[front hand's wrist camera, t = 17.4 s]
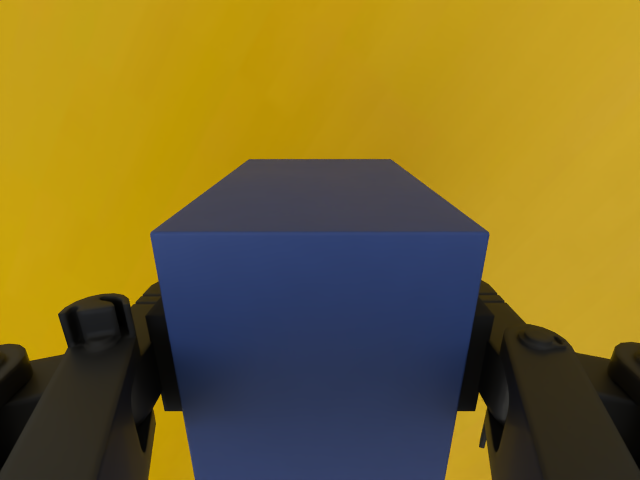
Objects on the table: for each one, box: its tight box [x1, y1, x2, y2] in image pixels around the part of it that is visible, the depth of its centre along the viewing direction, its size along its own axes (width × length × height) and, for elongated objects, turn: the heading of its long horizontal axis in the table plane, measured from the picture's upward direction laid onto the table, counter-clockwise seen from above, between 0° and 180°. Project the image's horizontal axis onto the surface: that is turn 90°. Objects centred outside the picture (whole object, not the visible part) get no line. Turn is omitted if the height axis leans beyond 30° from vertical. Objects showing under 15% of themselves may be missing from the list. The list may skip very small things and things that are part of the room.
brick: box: [150, 159, 489, 480], centre depth 12 cm, size 6×7×9 cm
